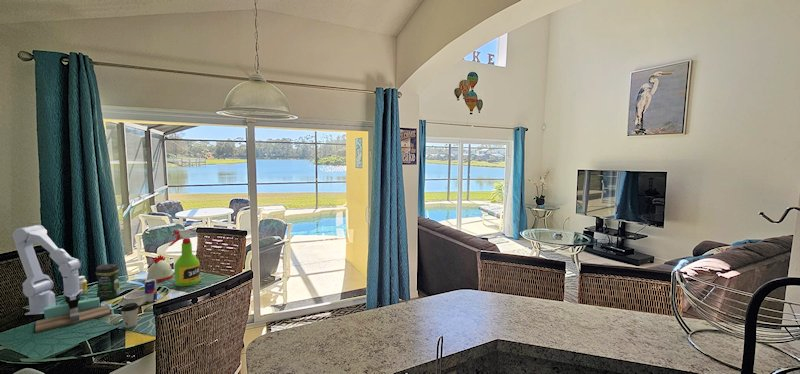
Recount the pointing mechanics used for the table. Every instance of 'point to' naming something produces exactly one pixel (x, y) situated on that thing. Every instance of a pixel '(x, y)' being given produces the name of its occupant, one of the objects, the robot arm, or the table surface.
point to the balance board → (67, 318)
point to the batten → (64, 308)
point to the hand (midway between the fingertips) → (73, 309)
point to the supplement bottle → (83, 284)
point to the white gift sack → (160, 270)
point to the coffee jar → (107, 281)
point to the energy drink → (150, 290)
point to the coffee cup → (130, 314)
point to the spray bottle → (186, 261)
